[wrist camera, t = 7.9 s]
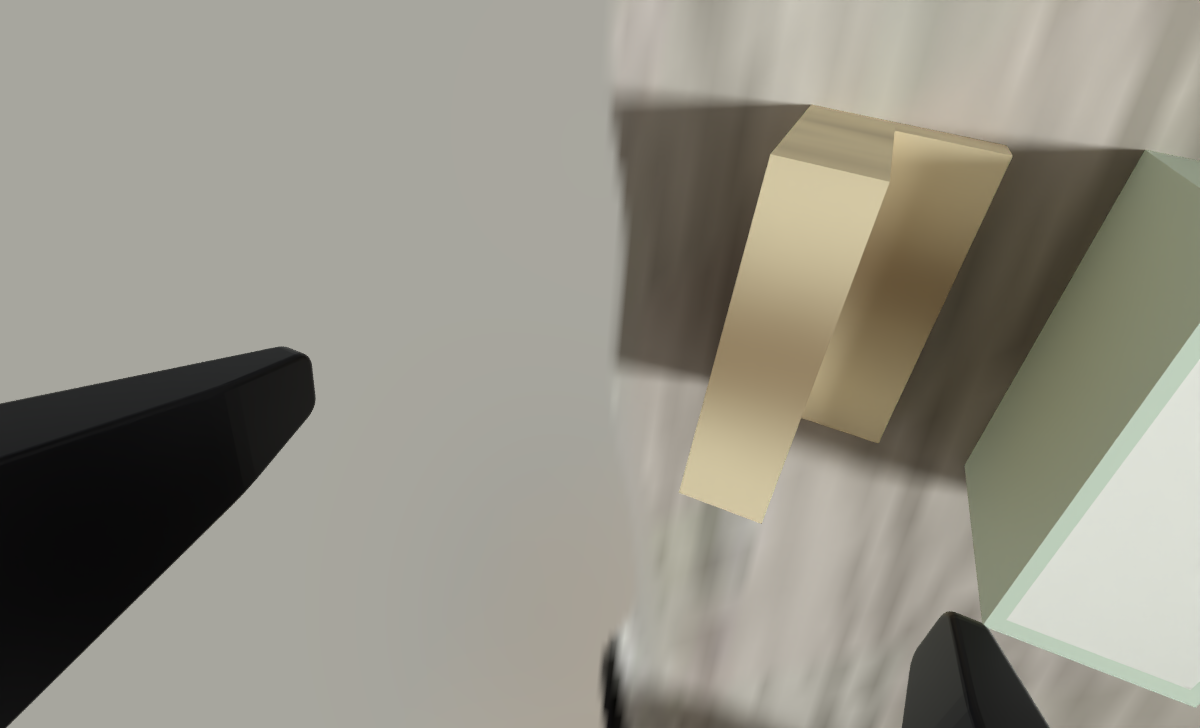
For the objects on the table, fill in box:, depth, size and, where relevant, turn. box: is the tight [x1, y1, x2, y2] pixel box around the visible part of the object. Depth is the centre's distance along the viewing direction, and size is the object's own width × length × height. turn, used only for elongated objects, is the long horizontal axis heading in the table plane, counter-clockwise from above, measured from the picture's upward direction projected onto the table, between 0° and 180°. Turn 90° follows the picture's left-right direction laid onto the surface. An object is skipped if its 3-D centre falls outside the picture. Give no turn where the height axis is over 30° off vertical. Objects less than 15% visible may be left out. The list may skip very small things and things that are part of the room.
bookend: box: [679, 105, 1013, 524], centre depth 15 cm, size 8×4×6 cm, turn 173°
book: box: [964, 150, 1200, 708], centre depth 14 cm, size 9×4×6 cm, turn 173°
